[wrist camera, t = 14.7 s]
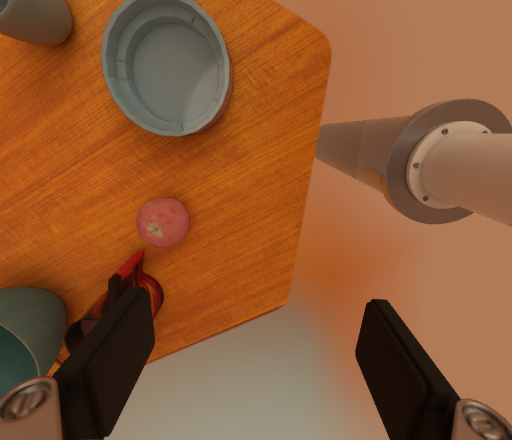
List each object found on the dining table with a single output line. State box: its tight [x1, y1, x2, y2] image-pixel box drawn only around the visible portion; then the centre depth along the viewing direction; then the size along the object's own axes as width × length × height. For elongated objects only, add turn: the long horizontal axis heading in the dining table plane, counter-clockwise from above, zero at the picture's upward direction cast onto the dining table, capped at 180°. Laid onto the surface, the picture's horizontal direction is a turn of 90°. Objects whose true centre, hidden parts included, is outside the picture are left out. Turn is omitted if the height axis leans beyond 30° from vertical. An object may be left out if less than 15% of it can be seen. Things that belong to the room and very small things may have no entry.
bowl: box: [101, 0, 233, 137], centre depth 32 cm, size 15×15×5 cm
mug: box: [64, 250, 164, 354], centre depth 40 cm, size 10×14×12 cm
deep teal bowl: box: [0, 287, 67, 399], centre depth 42 cm, size 18×18×12 cm
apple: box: [136, 198, 190, 248], centre depth 38 cm, size 7×7×8 cm
